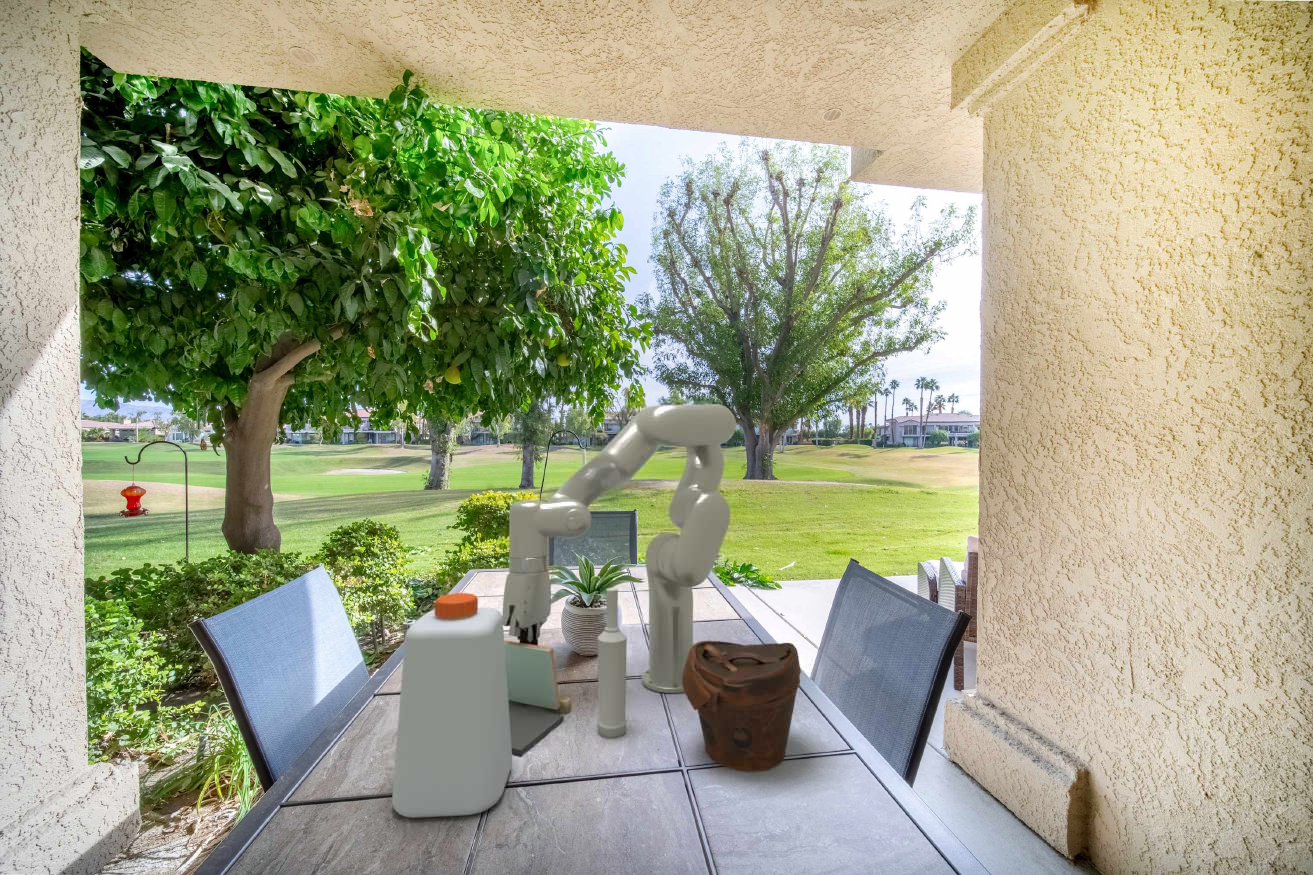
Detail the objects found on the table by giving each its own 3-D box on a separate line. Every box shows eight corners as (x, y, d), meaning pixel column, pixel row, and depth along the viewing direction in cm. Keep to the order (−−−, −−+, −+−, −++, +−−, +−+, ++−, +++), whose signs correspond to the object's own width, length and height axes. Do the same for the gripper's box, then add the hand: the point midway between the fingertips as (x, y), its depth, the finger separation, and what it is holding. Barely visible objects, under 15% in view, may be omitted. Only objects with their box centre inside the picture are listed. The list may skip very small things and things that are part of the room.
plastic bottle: (420, 762, 91) (421, 586, 92) (516, 758, 92) (516, 584, 93) (382, 824, 76) (383, 613, 77) (497, 818, 77) (497, 610, 78)
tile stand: (571, 709, 109) (571, 698, 109) (561, 717, 106) (561, 705, 106) (502, 696, 115) (502, 685, 115) (491, 703, 112) (491, 691, 112)
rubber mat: (563, 720, 105) (563, 715, 105) (521, 756, 93) (521, 750, 93) (484, 704, 112) (484, 699, 112) (435, 735, 100) (435, 729, 100)
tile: (499, 693, 113) (491, 638, 111) (560, 705, 107) (552, 647, 105) (495, 697, 112) (487, 641, 110) (557, 709, 106) (549, 651, 104)
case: (664, 736, 99) (665, 632, 99) (763, 716, 106) (764, 620, 106) (712, 796, 82) (713, 672, 82) (825, 768, 90) (826, 654, 90)
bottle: (631, 726, 102) (630, 587, 103) (620, 740, 98) (619, 593, 98) (604, 722, 104) (604, 584, 105) (592, 735, 99) (592, 591, 100)
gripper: (535, 556, 119) (535, 644, 119) (488, 570, 105) (487, 670, 105) (566, 559, 116) (566, 649, 116) (521, 573, 102) (520, 676, 102)
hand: (528, 659), depth 110 cm, fingers closed
